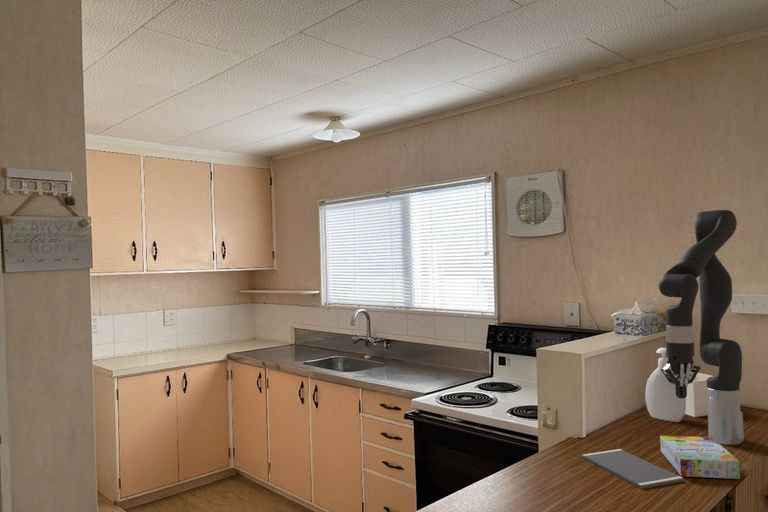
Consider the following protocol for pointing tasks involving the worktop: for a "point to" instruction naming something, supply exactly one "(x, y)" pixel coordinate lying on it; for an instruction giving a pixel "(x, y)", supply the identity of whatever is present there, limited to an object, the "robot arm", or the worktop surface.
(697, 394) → the utensil crock
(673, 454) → the snack box
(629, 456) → the gray tablet computer
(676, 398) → the soap bottle
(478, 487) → the worktop surface
